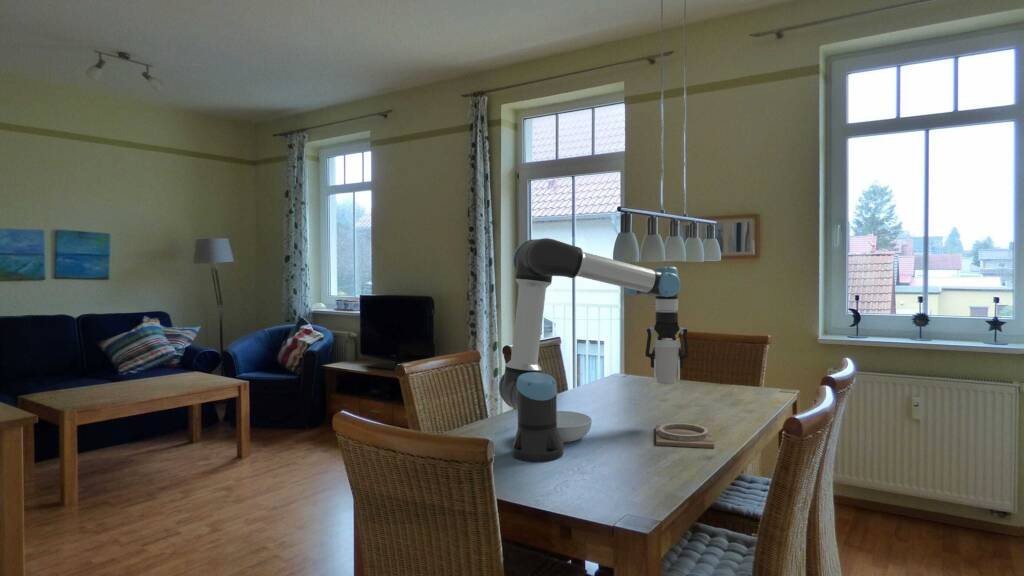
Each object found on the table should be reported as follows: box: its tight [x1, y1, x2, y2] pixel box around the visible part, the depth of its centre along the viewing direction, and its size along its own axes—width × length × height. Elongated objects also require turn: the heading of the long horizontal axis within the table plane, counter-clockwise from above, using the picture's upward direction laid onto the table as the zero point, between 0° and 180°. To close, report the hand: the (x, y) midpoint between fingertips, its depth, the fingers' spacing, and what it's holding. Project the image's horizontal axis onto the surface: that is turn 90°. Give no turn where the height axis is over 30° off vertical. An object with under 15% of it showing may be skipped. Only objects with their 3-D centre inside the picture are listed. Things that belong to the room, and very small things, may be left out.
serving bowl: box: [557, 410, 592, 443], centre depth 195 cm, size 21×21×7 cm
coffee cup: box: [651, 338, 682, 385], centre depth 209 cm, size 10×10×15 cm
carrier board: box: [655, 422, 715, 449], centre depth 195 cm, size 20×17×3 cm
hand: (666, 377), depth 210 cm, fingers closed on coffee cup, 7 cm apart
